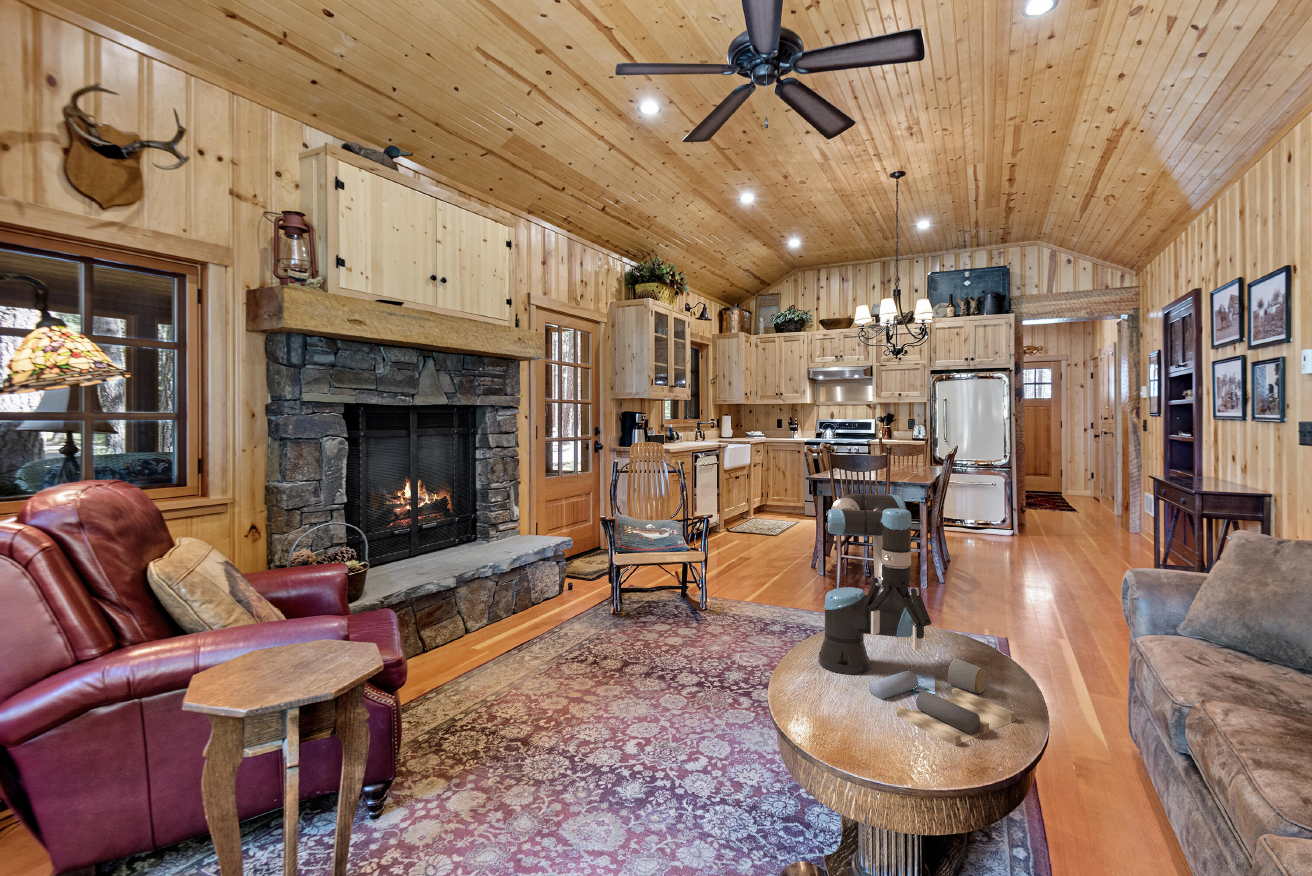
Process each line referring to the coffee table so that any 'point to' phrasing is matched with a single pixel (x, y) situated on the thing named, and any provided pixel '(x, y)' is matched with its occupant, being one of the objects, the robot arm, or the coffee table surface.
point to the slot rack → (989, 720)
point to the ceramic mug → (966, 676)
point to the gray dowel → (893, 685)
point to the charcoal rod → (948, 712)
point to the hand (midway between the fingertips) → (895, 641)
